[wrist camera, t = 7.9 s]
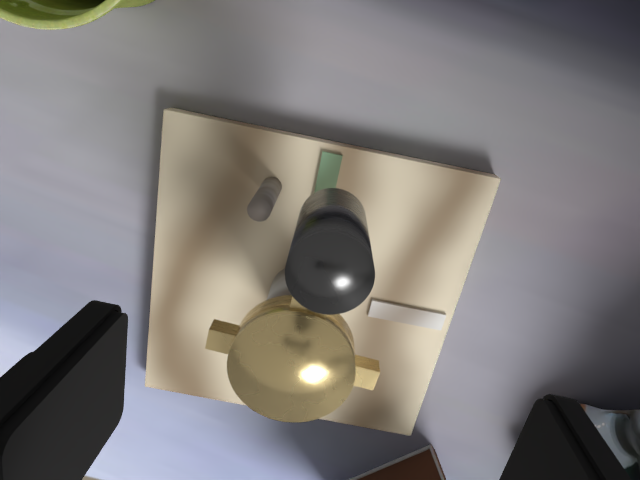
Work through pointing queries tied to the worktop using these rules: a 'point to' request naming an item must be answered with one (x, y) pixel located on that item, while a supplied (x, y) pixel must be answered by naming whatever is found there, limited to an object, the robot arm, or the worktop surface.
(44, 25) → the plant pot
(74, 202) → the worktop surface
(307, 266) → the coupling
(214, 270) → the post base
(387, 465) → the food container
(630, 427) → the lucky cat figurine
